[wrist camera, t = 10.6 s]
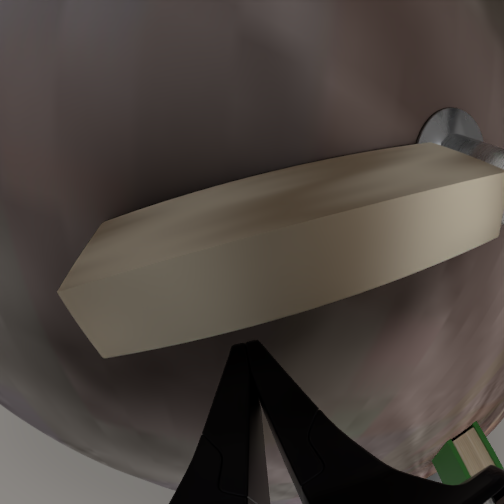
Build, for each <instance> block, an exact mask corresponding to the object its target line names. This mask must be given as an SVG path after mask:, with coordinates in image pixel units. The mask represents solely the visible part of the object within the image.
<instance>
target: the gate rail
mask: <svg viewBox="0 0 504 504" xmlns="http://www.w3.org/2000/svg"><path fill="white" fill-rule="evenodd" d="M503 209H504V170H503V169H501V168H499V167H496V166H494V165H492V164H489V163H487V162H484V161H482V160H479V159H477V158H474V157H472V156H469V155H467V154H464V153H461V152H458V151H456V150H453V149H450V148H447V147H444V146H441V145H438V144H435V143H432V142H429V143H421V144H414V145H407V146H400V147H393V148H387V149H381V150H374V151H369V152H363V153H357V154H352V155H346V156H341V157H336V158H331V159H326V160H321V161H316V162H312V163H307V164H302V165H298V166H293V167H289V168H285V169H280V170H276V171H272V172H268V173H264V174H260V175H256V176H252V177H248V178H244V179H240V180H236V181H232V182H229V183H225V184H221V185H218V186H214V187H211V188H207V189H204V190H200V191H197V192H193V193H190V194H187V195H183V196H180V197H177V198H173V199H170V200H167V201H164V202H161V203H158V204H155V205H151V206H148V207H145V208H142V209H139V210H136V211H133V212H130V213H128V214H125V215H122V216H119V217H116V218H113V219H110V220H108V221H105V222H103V223H102V224H101V225H100V227H99V228H98V229H97V231H96V232H95V234H94V235H93V237H92V238H91V239H90V241H89V242H88V244H87V245H86V247H85V248H84V250H83V251H82V253H81V254H80V256H79V257H78V259H77V260H76V262H75V263H74V265H73V267H72V268H71V270H70V271H69V273H68V275H67V276H66V278H65V279H64V281H63V283H62V284H61V286H60V288H59V289H58V291H57V293H58V295H59V296H60V298H61V299H62V301H63V302H64V304H65V306H66V307H67V309H68V310H69V312H70V313H71V315H72V316H73V318H74V319H75V321H76V322H77V324H78V325H79V326H80V328H81V329H82V331H83V332H84V333H85V335H86V336H87V338H88V339H89V340H90V342H91V343H92V344H93V346H94V347H95V348H96V350H97V351H98V352H99V354H100V355H101V356H102V357H103V359H104V358H110V357H116V356H122V355H127V354H133V353H138V352H143V351H148V350H153V349H158V348H163V347H168V346H173V345H177V344H182V343H186V342H191V341H195V340H199V339H204V338H208V337H212V336H216V335H220V334H224V333H228V332H232V331H236V330H240V329H244V328H247V327H251V326H255V325H259V324H262V323H266V322H269V321H273V320H276V319H280V318H283V317H287V316H290V315H294V314H297V313H300V312H304V311H307V310H310V309H313V308H317V307H320V306H323V305H326V304H329V303H332V302H335V301H338V300H341V299H344V298H347V297H350V296H353V295H356V294H359V293H362V292H365V291H368V290H370V289H373V288H376V287H379V286H382V285H384V284H387V283H390V282H393V281H395V280H398V279H401V278H403V277H406V276H408V275H411V274H414V273H416V272H419V271H421V270H424V269H426V268H429V267H431V266H434V265H436V264H438V263H441V262H443V261H446V260H448V259H450V258H453V257H455V256H457V255H460V254H462V253H464V252H467V251H469V250H471V249H473V248H476V247H478V246H480V245H482V244H484V243H486V242H489V241H491V240H493V239H495V238H497V237H499V232H500V227H501V222H502V216H503Z"/></svg>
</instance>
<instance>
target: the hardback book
mask: <svg viewBox="0 0 504 504" xmlns="http://www.w3.org/2000/svg"><path fill="white" fill-rule="evenodd" d="M432 462H433V464H434V466H435V468H436V470H437V472H438V474H439V476H440V478H441V481H442V483H443V484H448V485H459V484H460V483H462V482H464V481H465V480H467V479H469V478H470V477H472V476H473V475H475V474H477V473H478V472H480V471H481V470H483V469H484V468H486V467H487V466H489V465H494V466H496V467H498V468H501V469H503V467H502V465H501V463H500V461H499V459H498V457H497V456H496V454H495V452H494V450H493V448H492V447H491V445H490V443H489V442H488V440H487V438H486V436H485V435H484V433H483V431H482V430H481V428H480V426H479V425H478V423H477V421H476V422H474V423H473V424H472V425H471V427H470V428H469V429H468V430H467V432H466V433H464V434H463V435H461V436H460V437H459V438H457V439H456V440H454V441H453V442H452V440H451V439H450V440H449V441H447V442H446V444H445V445H444V446H443V447H442V449H441V450H440V451H439V452H438V454H437V455H436V456H435V457H434V459H433V460H432ZM503 470H504V469H503Z"/></svg>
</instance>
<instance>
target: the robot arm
mask: <svg viewBox="0 0 504 504" xmlns="http://www.w3.org/2000/svg"><path fill="white" fill-rule="evenodd" d="M260 403H261V406H262V408H263V411H264V414H265V416H266V419H267V421H268V424H269V426H270V429H271V431H272V434H273V436H274V438H275V441H276V443H277V446H278V448H279V451H280V453H281V455H282V458H283V460H284V462H285V465H286V467H287V469H288V472H289V474H290V476H291V479H292V481H293V483H294V486H295V488H296V490H297V492H298V495H299V497H300V499H301V501H302V503H303V504H504V470H503V469H501V468H498V467H496V466H494V465H489V466H487V467H486V468H484V469H483V470H481V471H480V472H478V473H477V474H475V475H473V476H472V477H470V478H469V479H467V480H465V481H464V482H462V483H460V484H459V485H448V484H443V483H439V482H435V481H432V480H428V479H425V478H421V477H418V476H414V475H411V474H408V473H405V472H402V471H399V470H396V469H394V468H392V467H390V466H388V465H387V464H385V463H383V462H382V461H380V460H379V459H378V458H376V457H375V456H373V455H372V454H371V453H369V452H368V451H367V450H365V449H364V448H363V447H361V446H360V445H358V444H357V443H356V442H355V441H353V440H352V439H351V438H349V437H348V436H347V435H346V434H345V433H343V432H342V431H341V430H340V429H339V428H338V427H337V426H336V425H335V424H334V423H332V422H331V421H330V420H329V419H328V418H327V416H326V415H325V414H324V413H323V412H322V411H321V410H319V408H318V407H317V406H316V405H315V404H314V403H313V402H312V400H311V399H310V398H309V397H308V396H307V395H306V394H305V393H304V392H303V391H302V389H301V388H300V387H299V386H298V385H297V384H296V383H295V382H294V380H293V379H292V378H291V377H290V376H289V375H288V374H287V373H286V371H285V370H284V369H283V368H282V367H281V366H280V364H279V363H278V362H277V361H276V360H275V359H274V358H273V356H272V355H271V354H270V353H269V352H268V351H267V349H266V348H265V347H264V346H263V345H262V344H261V342H260V341H259V340H254V341H249V342H247V343H246V344H245V343H240V344H236V345H233V346H232V348H231V350H230V353H229V356H228V359H227V362H226V365H225V368H224V371H223V374H222V377H221V380H220V383H219V386H218V389H217V391H216V394H215V397H214V400H213V403H212V406H211V409H210V412H209V415H208V418H207V420H206V423H205V426H204V429H203V432H202V434H203V435H201V437H200V440H199V443H198V446H197V448H196V451H195V453H194V456H193V458H192V461H191V463H190V465H189V467H188V469H187V471H186V473H185V475H184V477H183V479H182V481H181V482H180V484H179V486H178V488H177V490H176V492H175V494H174V496H173V497H172V499H171V501H170V503H169V504H270V496H269V486H268V476H267V466H266V456H265V446H264V435H263V425H262V414H261V406H260Z"/></svg>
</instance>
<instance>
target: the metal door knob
mask: <svg viewBox="0 0 504 504" xmlns="http://www.w3.org/2000/svg"><path fill="white" fill-rule="evenodd" d="M429 142H432V143H435V144H438V145H441V146H444V147H447V148H450V149H453V150H456V151H458V152H461V153H464V154H467V155H469V156H472V157H474V158H477V159H479V160H482V161H484V162H487V163H489V164H492V165H494V166H496V167H499V168H501V169H503V170H504V149H503V148H500V147H497V146H494V145H492V144H489V143H486V142H483V138H482V134H481V132H480V129H479V127H478V125H477V123H476V122H475V121H474V119H473V118H472V117H471V116H470V115H469V114H468V113H466V112H465V111H463V110H460V109H457V108H444V109H441V110H439V111H437V112H436V113H434V114H433V115H432V116H431V117H430V118H429V119H428V120H427V122H426V123H425V125H424V126H423V128H422V130H421V132H420V134H419V136H418V139H417V142H416V144H421V143H429ZM501 224H503V225H504V209H503V216H502V222H501Z"/></svg>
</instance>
